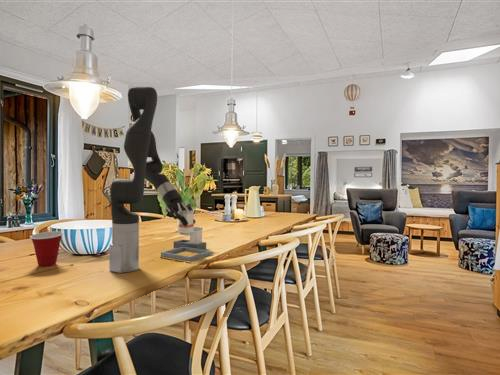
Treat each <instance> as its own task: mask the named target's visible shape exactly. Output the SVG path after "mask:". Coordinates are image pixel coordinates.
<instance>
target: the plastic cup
mask: <svg viewBox="0 0 500 375" xmlns="http://www.w3.org/2000/svg"><path fill="white" fill-rule="evenodd" d="M63 234H64V232H62V231H56V230H55V231H54V230H53V231H45V232H39V233H34V234H32V235H30V236H29V238H30V239H31V241H32V243H33V246H34V252H35V257H36V262H37V264H38V267H42V268H43V267H51V266H55V265H56V264H57V260H58V255H59V250H60V245H61V240H62V236H63Z"/></svg>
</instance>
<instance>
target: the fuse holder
mask: <svg viewBox="0 0 500 375" xmlns="http://www.w3.org/2000/svg"><path fill="white" fill-rule="evenodd" d="M180 247H188V248H195V249H202V250H207V242H205V241H202V243H200V244H192V243H190V239H184V238H183V239H178V240H174V241H173V249H176V248H180Z"/></svg>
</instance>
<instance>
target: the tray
mask: <svg viewBox="0 0 500 375" xmlns="http://www.w3.org/2000/svg"><path fill="white" fill-rule="evenodd" d="M181 252H189V253H196V254H195V255H191V256H188V255H183V254H182V255H181V254H178V253H181ZM176 253H177V254H176ZM211 255H212V250H209V249H208V250H207V249H204V250H202V249H195V248H188V247H180V248H173V249H169V250H165V251H161V252H160V259H163V260H169V261H173V260H174V261H173V262H179V263H184V262H185V263H186V264H192V261H195V260H199V259H201V258H205V257H207V256H211Z"/></svg>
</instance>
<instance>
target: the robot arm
mask: <svg viewBox="0 0 500 375" xmlns="http://www.w3.org/2000/svg"><path fill="white" fill-rule="evenodd" d="M127 101H128V105H129V110H130V113H131V116H132V119H133V123H132V124H130V126H129V128H127V130H126V132H125V136H124V137H125V138H124V143H123V150H124V153H125V155H126V157H127V158H128V160H129V162H130V163H131V166H132V169H133V178H115V179H113V180H112V182H111V183H110V191H109V192H110V194H109V195H110V208H111V209H110V210H111V211H110V212H111V214H110V216H111V223H112V224H111V227H112V228H111V243H110V244H109V272H114V273H119V274H122V273H130V272H134V271H137V270H139V267H140V264H139V262H140V260H139V259H140V257H139V256H140V253H139V252H140V216H139V214H138V213H135V212H133V211H131V210H129V209H127V208H126V207H125V205H139V204H140V203H142V202H143V199H144V193H145V181H146V182H149V183H150V184H151V185H152V186H153V188H155V190H156V192H157V193H158V195H159V197H160V198H161V200H162V201H163V202H164V205H166V207H167V208H165V212H167V213H168V214H169V215H170V216H171V217H172V218H173V219H174V220H178V221H179V222H180V221H181V223H182V224H183V225H184V226H187V225H188V222H187V220H186V219H185V217H183V214H182V213H181V211H185V210H187V211H194V210H193V208H192V205H191V203H187V204H185V202H183V197H182V195H181V194H180V192H179V190H178V189H177V188H176V187H175V186H174V185H173V183H172V182H171V180H169V178H168V176H166V174H165V173H162V172H163V169H164V166H163V163H162V160H161V159H160V157H159V154H158V153H159V152H158V150H157V140H156V137H155V135H154V133H153V131H152V127H153V121H154V117H155V113H156V109H157V104H158V92H157V90H156V89H155V88H154V87H152V86H131V87H129V88H128V91H127ZM141 110H143V111H142V112H141ZM148 158H151V159H150V160H148ZM193 224H194V225H195V224H196V220H195V219H194V220H193Z"/></svg>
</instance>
